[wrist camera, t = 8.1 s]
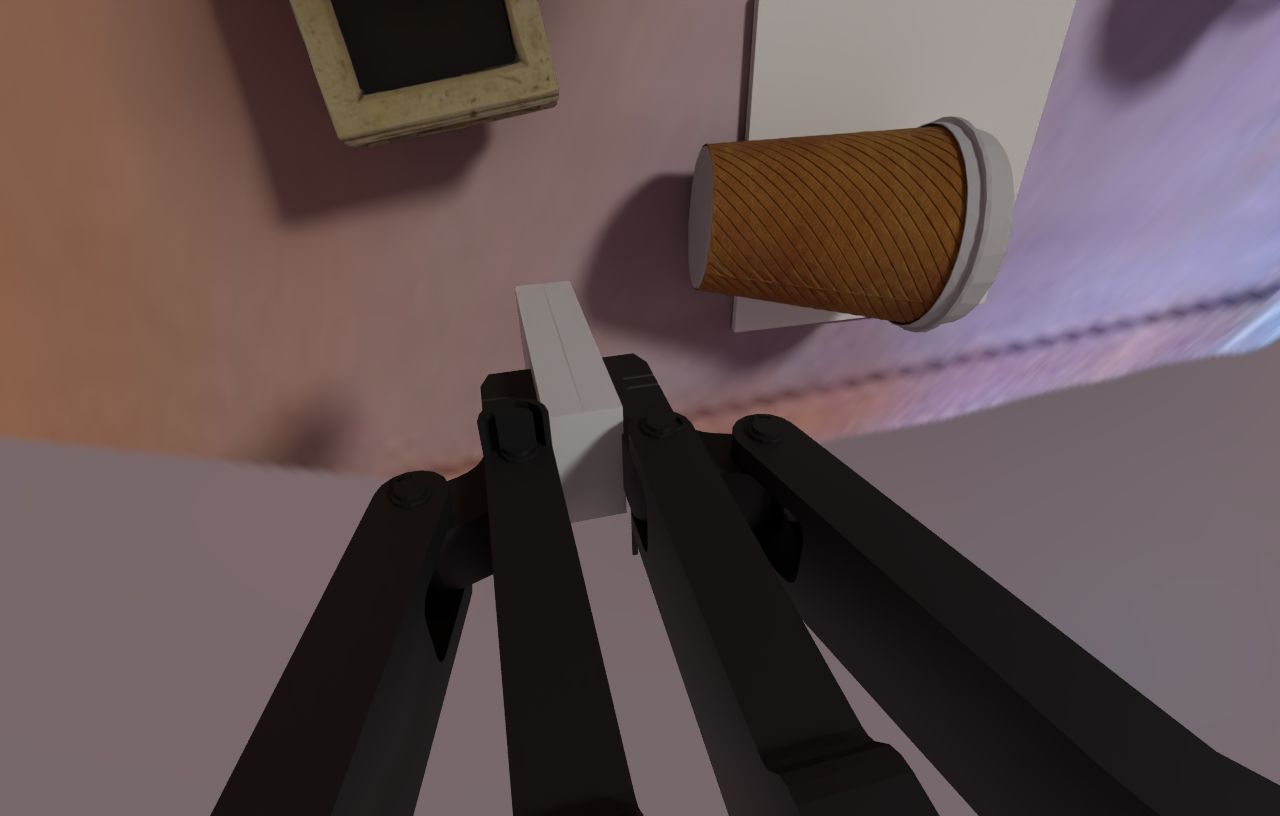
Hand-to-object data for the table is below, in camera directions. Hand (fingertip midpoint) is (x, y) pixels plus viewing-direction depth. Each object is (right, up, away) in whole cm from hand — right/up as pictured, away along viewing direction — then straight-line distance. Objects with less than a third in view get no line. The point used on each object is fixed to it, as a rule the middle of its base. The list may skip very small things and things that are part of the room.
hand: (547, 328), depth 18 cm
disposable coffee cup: (+5, +6, +11) cm, 13 cm away
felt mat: (+15, +10, +15) cm, 24 cm away
